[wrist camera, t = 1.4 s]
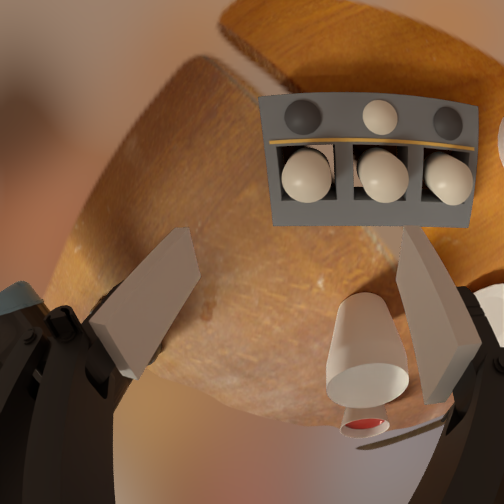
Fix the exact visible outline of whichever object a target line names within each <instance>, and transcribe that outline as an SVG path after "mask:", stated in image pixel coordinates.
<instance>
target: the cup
mask: <svg viewBox="0 0 504 504" xmlns="http://www.w3.org/2000/svg"><path fill="white" fill-rule="evenodd" d="M408 383H409V376H408V366H407V355H406V352H405V349H404V346H403V344H402V341H401V339H400V336H399V334H398V331H397V329H396V326H395V324H394V322H393V319H392V317H391V315H390V312H389V310H388V308H387V305H386V303H385V301H384V300H383V299H382V298H381V297H380V296H378V295H376V294H373V293H367V292H363V293H357V294H354V295H351V296H350V297H348V298H346V299H345V300H344V301H343V302H342V303H341V304H340V306H339V308H338V313H337V318H336V323H335V328H334V333H333V337H332V342H331V346H330V351H329V355H328V360H327V365H326V392H327V395H328V397H329V398H330V399H331V400H332V401H333V402H335V403H337V404H339V405H341V406H345V407H350V408H370V407H375V406H379V405H382V404H385V403H388V402H390V401H392V400H394V399H395V398H397V397H398V396H400V395H401V394H402V393H403V392H404V391H405V389H406V388H407V386H408Z"/></svg>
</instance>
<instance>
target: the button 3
mask: <svg viewBox="0 0 504 504" xmlns="http://www.w3.org/2000/svg"><path fill="white" fill-rule="evenodd" d="M422 179H423V181H424V183H425V185H426V186H427V187H428V188H429V189H430V190H431V191H432V192H433V193H434V194H435V195H436V196H438V197H439V198H440V199H441V200H442V201H443V202H444V203H446V204H448V205H459V204H461V203H463V202H464V201H465V200H466V199H467V198H468V197H469V195H470V193H471V191H472V187H473V177H472V173H471V171H470V169H469V168H468V166H467V165H466V164H464V163H463V162H461V161H459V160H457V159H456V158H454V157H452V156H450V155H448V154H446V153H444V152H440V151H437V152H433V153H431V154H429V155H428V156H427V157H426V158H425V160H424V162H423V177H422Z"/></svg>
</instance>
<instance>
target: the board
mask: <svg viewBox="0 0 504 504" xmlns="http://www.w3.org/2000/svg"><path fill="white" fill-rule="evenodd" d="M258 100H259V108H260V116H261V124H262V132H263V140H264V148H265V157H266V165H267V174H268V183H269V192H270V201H271V210H272V220H273V226H404V225H413V226H420V227H456V228H468V227H469V222H470V216H471V210H472V204H473V197H474V189H475V181H476V170H477V157H478V131H479V118H478V106H474V105H469V104H464V103H459V102H453V101H447V100H441V99H434V98H427V97H419V96H410V95H399V94H386V93H365V92H318V93H297V94H283V95H272V96H262V97H258ZM324 144H325V145H326V144H333V153H334V175H335V187H330V189H329V191H328V193H327V194H326V195H325V196H324V197H323V198H322V199H320V200H318V201H315V202H311V203H304V202H299V201H297V200H295V199H293V198H292V197H290V196H289V195H288V194H287V192H286V191H285V189H284V187H283V184H282V172H283V169H284V158H283V148H282V146H295V145H324ZM353 144H362V145H392V146H397V158H398V159H399V160H400V161H401V162H402V163H403V164H404V165H405V167H406V169H407V171H408V176H409V183H408V187H407V189H406V191H405V193H404V194H403V195H402V196H401V197H400V198H399V199H398V200H396V201H394V202H390V203H381V202H378V201H375V200H374V199H372V198H371V197H370V196H369V195H368V194H367V193H366V191H365V189H364V187H353V186H354V185H353V183H354V182H353ZM424 148H434V149H444V150H452V157H454V158H456V159H457V160H459V161H461V162H463V163H464V164H466V165H467V166H468V168H469V169H470V171H471V173H472V177H473V187H472V191H471V193H470V195H469V197H468V198H467V199H466V200H465V201H464V202H463V203H461V204H459V205H448V204H446V203H444V202H443V201H442V200H441V199H440V198H439V197H438V196H436V195H435V194H434V193H433V192H432V191H431V190H430V189H422V177H423V154H424Z"/></svg>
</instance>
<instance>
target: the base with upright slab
mask: <svg viewBox="0 0 504 504" xmlns="http://www.w3.org/2000/svg"><path fill="white" fill-rule="evenodd" d="M498 149H499V155H500V159H501V162H502V164H503V166H504V117H503V119H502V121H501V124H500V127H499V133H498Z"/></svg>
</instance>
